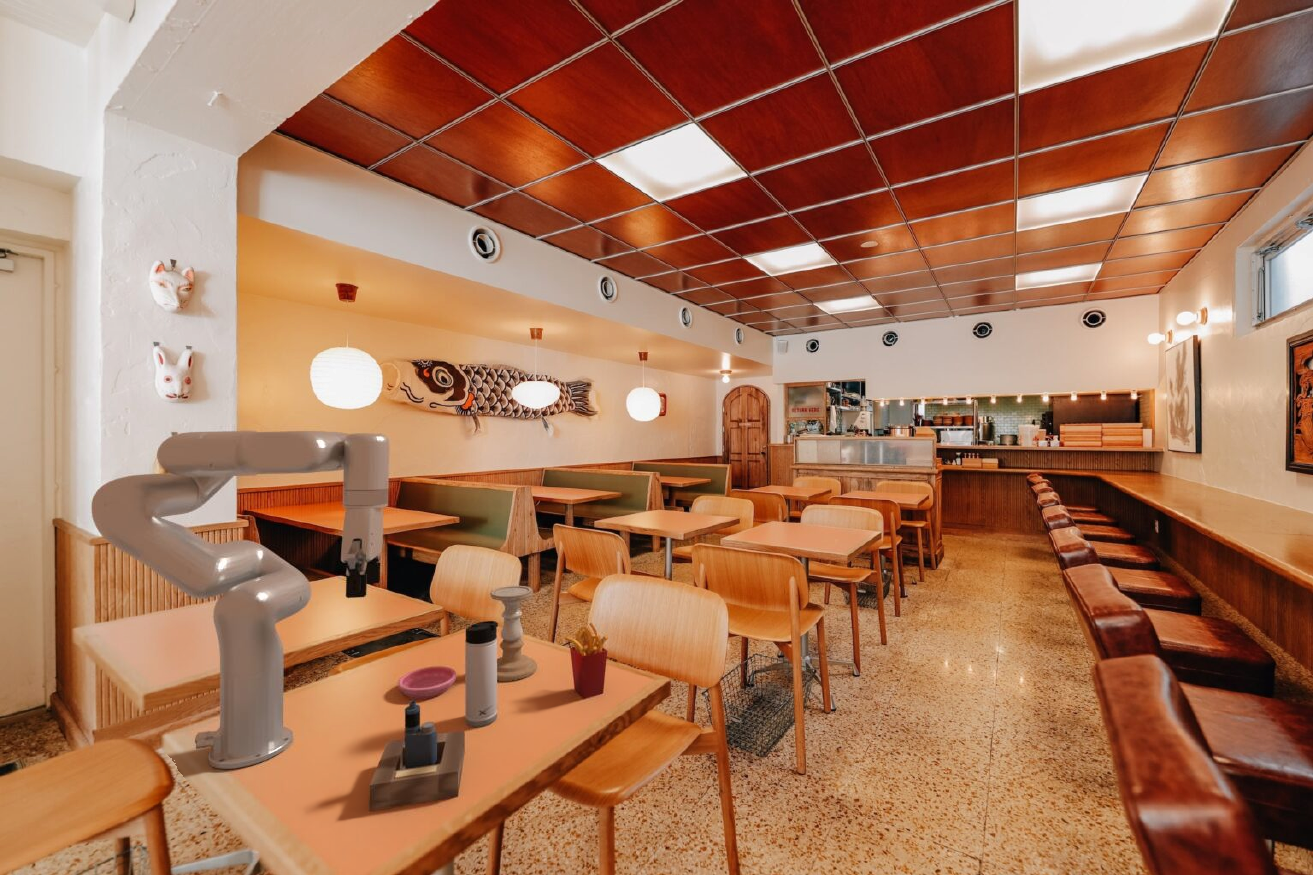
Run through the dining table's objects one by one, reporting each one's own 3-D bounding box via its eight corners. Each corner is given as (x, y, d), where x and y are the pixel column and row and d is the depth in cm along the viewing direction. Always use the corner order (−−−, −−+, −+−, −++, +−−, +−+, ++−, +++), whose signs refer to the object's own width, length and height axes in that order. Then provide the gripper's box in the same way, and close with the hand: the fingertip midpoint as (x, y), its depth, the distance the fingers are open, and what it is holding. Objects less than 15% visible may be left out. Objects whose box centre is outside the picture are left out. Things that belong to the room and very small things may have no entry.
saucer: (462, 693, 124) (462, 679, 124) (403, 708, 117) (403, 693, 117) (449, 674, 134) (449, 661, 134) (394, 687, 127) (394, 673, 127)
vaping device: (408, 768, 93) (408, 698, 93) (439, 767, 93) (439, 698, 93) (401, 777, 90) (401, 706, 90) (433, 776, 91) (433, 705, 91)
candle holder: (522, 657, 144) (521, 581, 144) (546, 671, 135) (545, 590, 135) (477, 670, 135) (477, 590, 136) (500, 686, 126) (500, 600, 127)
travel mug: (489, 728, 108) (488, 628, 108) (459, 725, 109) (459, 626, 109) (504, 713, 114) (503, 618, 114) (475, 710, 115) (475, 617, 115)
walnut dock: (369, 810, 84) (369, 783, 84) (387, 763, 96) (388, 739, 96) (458, 796, 87) (458, 770, 87) (464, 751, 100) (464, 729, 100)
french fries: (609, 693, 123) (608, 627, 123) (576, 703, 118) (575, 635, 118) (590, 679, 130) (590, 617, 130) (559, 688, 125) (559, 624, 125)
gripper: (357, 494, 109) (355, 579, 109) (327, 504, 92) (325, 604, 92) (397, 494, 111) (395, 577, 110) (375, 503, 94) (373, 602, 94)
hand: (363, 589), depth 101 cm, fingers open, 9 cm apart
